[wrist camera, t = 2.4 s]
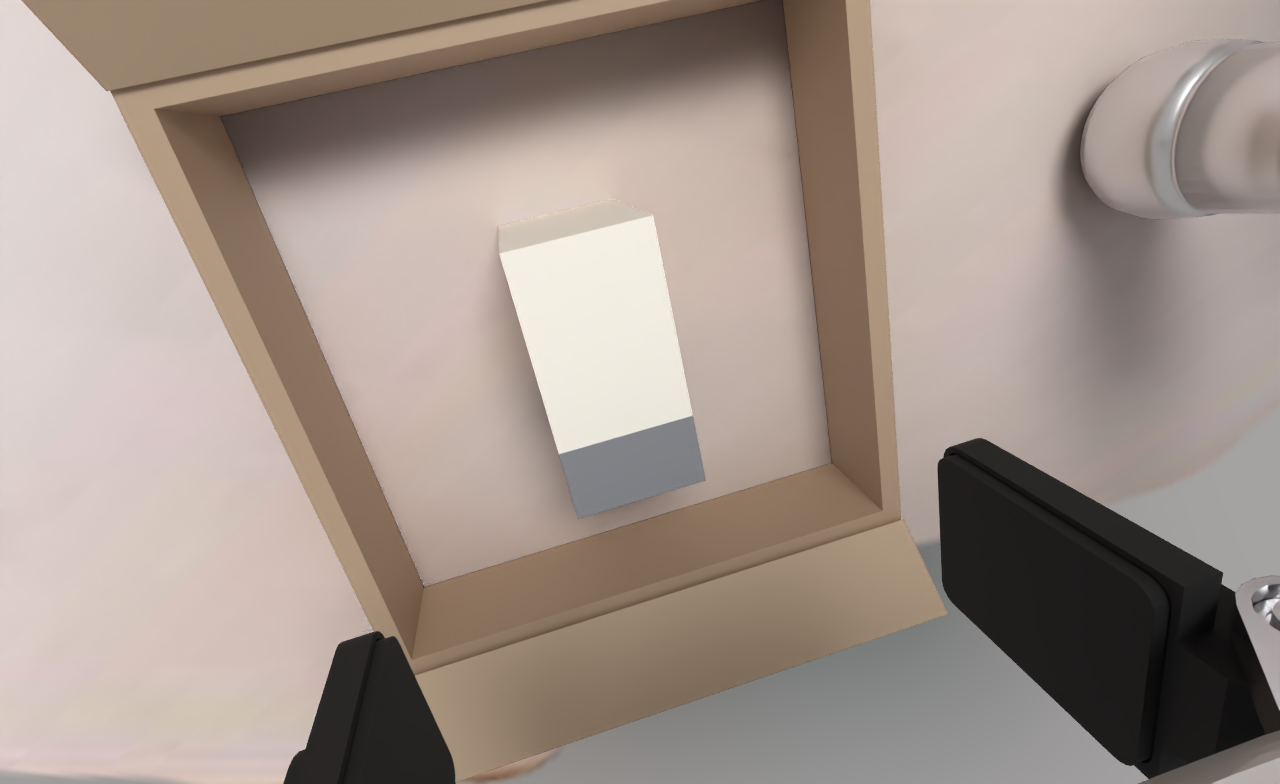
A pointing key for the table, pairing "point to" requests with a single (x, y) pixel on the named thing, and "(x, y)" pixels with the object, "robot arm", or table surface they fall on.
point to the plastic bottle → (1189, 132)
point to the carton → (601, 564)
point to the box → (604, 351)
